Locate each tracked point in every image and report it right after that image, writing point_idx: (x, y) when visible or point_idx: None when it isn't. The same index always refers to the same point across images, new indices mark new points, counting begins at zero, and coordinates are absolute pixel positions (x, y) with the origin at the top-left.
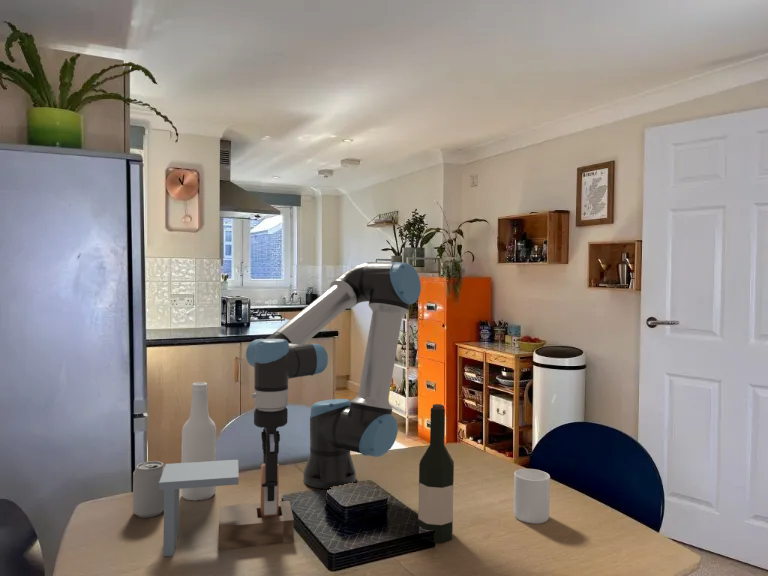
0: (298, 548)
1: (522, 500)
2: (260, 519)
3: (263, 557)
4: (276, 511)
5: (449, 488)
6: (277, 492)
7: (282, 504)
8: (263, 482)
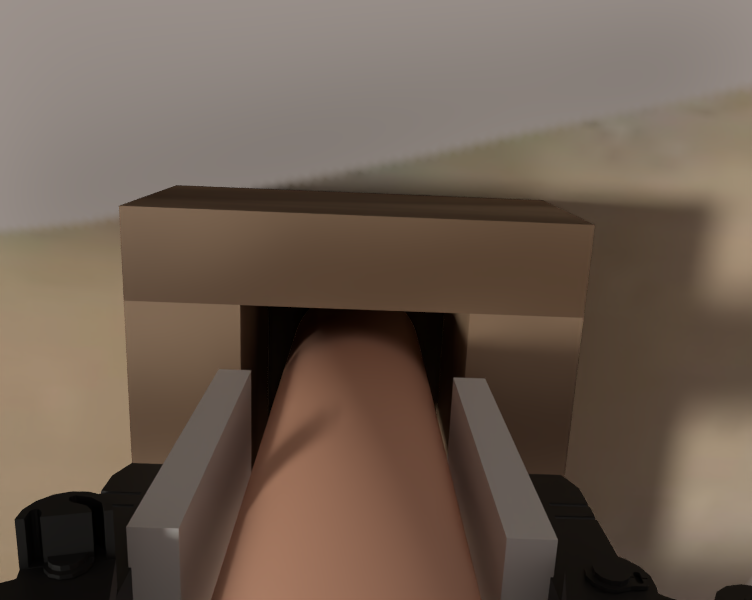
0: (643, 178)
1: None
2: None
3: (682, 413)
4: (488, 387)
5: None
6: (413, 441)
7: (202, 283)
8: None
